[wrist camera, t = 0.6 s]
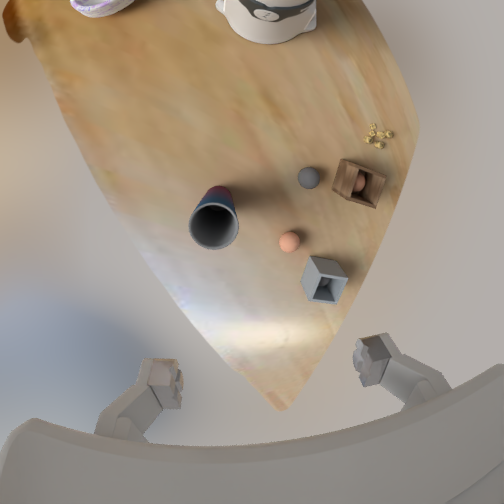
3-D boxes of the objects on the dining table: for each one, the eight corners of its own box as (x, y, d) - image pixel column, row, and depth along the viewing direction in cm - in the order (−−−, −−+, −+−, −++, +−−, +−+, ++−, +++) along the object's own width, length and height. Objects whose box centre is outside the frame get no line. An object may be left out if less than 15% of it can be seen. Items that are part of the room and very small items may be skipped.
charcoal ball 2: (313, 262, 57) (318, 271, 53) (330, 265, 58) (336, 274, 54) (307, 278, 58) (312, 288, 55) (323, 281, 59) (329, 291, 56)
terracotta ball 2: (345, 166, 48) (353, 170, 45) (362, 172, 49) (371, 176, 45) (339, 186, 50) (347, 190, 46) (356, 191, 51) (365, 196, 47)
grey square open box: (309, 255, 57) (319, 273, 50) (336, 260, 58) (348, 278, 51) (300, 281, 59) (308, 300, 52) (326, 285, 60) (336, 304, 54)
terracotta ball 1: (280, 227, 53) (284, 234, 50) (299, 231, 54) (304, 239, 50) (275, 245, 55) (278, 254, 51) (294, 249, 56) (298, 257, 52)
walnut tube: (340, 158, 48) (357, 164, 41) (368, 168, 49) (386, 175, 42) (331, 189, 51) (346, 199, 44) (358, 197, 52) (375, 208, 45)
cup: (242, 190, 50) (247, 215, 36) (226, 221, 52) (225, 257, 39) (209, 175, 48) (200, 194, 34) (194, 207, 50) (181, 238, 37)
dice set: (389, 132, 46) (393, 133, 45) (379, 153, 48) (383, 154, 47) (370, 119, 45) (375, 119, 43) (360, 140, 47) (364, 140, 45)
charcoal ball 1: (298, 163, 48) (304, 166, 44) (318, 168, 49) (325, 172, 45) (293, 183, 50) (298, 188, 46) (312, 188, 50) (319, 193, 47)
